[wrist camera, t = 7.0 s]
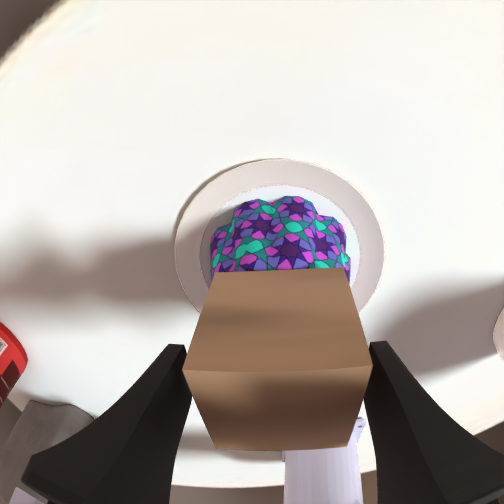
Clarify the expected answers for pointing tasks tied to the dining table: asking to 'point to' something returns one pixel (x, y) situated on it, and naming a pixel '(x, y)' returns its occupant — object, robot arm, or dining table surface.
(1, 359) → the canned food
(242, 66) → the dining table surface
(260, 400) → the walnut block
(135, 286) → the dining table surface
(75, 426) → the flask
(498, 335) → the candle holder
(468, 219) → the dining table surface
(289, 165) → the pudding
